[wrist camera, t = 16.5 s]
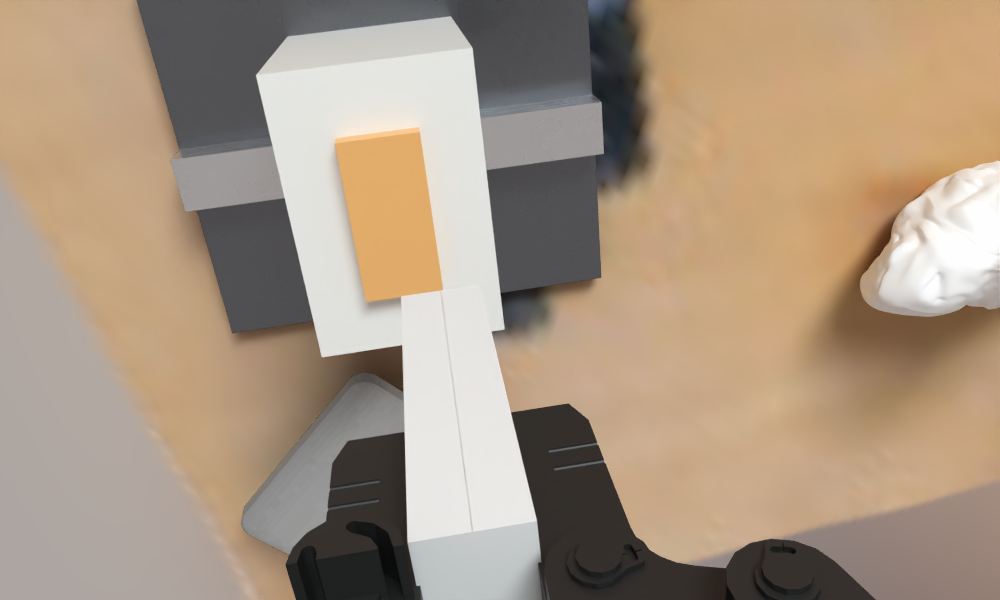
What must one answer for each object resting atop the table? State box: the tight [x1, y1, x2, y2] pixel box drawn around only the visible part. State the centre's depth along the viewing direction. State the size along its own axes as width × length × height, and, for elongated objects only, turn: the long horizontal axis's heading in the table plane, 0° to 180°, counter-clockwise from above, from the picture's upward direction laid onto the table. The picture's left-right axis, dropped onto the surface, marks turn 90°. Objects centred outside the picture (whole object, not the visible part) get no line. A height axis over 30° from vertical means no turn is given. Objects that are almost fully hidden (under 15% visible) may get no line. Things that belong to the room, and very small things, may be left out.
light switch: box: [241, 372, 405, 555], centre depth 37 cm, size 10×10×5 cm
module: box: [256, 16, 504, 357], centre depth 27 cm, size 6×9×9 cm, turn 6°
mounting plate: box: [137, 0, 604, 333], centre depth 31 cm, size 16×14×2 cm
